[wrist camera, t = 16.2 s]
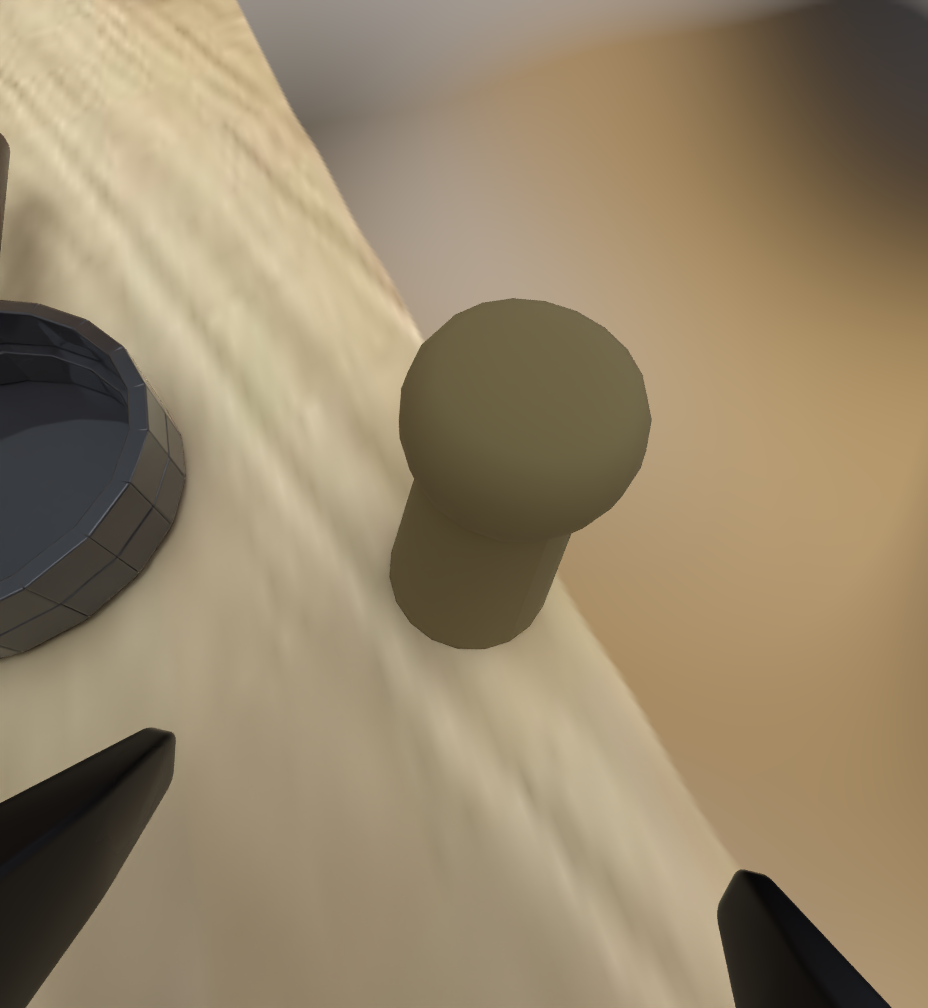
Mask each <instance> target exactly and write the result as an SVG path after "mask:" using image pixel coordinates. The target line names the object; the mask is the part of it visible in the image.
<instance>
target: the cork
mask: <svg viewBox="0 0 928 1008" xmlns="http://www.w3.org/2000/svg"><path fill="white" fill-rule="evenodd" d="M650 426H651V414H650V410H649V404H648V399H647V394H646V390H645V385H644V380H643V375H642V373H641V372H640V370H639V368H638V366H637V365H636V363H635V361H634V360H633V358H632V356H631V355H630V353H629V351H628V350H627V349H626V347H624V346H623V345H622V344H621V343H620V342H619V341H618V340H617V339H616V338H615V337H614V336H613V335H612V334H611V333H610V332H609V331H608V330H607V329H606V328H605V327H603V326H601V325H599V324H598V323H596V322H594V321H593V320H591V319H589V318H587V317H586V316H584V315H582V314H581V313H579V312H577V311H574V310H571V309H568V308H565V307H562V306H559V305H555V304H552V303H549V302H546V301H537V300H526V299H514V298H512V299H506V300H500V301H492V302H485V303H481V304H479V305H476V306H474V307H472V308H470V309H467V310H465V311H463V312H460V313H458V314H456V315H455V316H453V317H452V318H451V319H450V320H449V321H448V322H447V323H445V324H444V325H443V326H442V327H441V328H440V329H439V330H438V331H437V332H435V333H434V334H433V335H432V336H431V337H430V338H429V339H428V340H427V341H425V342H424V343H423V344H422V345H421V347H420V349H419V351H418V353H417V355H416V357H415V359H414V361H413V363H412V365H411V367H410V369H409V371H408V373H407V375H406V378H405V381H404V383H403V386H402V388H401V400H400V414H399V434H400V441H401V444H402V447H403V450H404V453H405V456H406V460H407V463H408V466H409V469H410V471H411V473H412V475H413V477H414V481H413V484H412V488H411V491H410V494H409V497H408V500H407V504H406V507H405V510H404V513H403V517H402V520H401V523H400V526H399V530H398V533H397V536H396V539H395V543H394V546H393V549H392V552H391V565H390V580H391V584H392V587H393V591H394V595H395V599H396V602H397V603H398V605H399V606H400V608H401V609H402V611H403V612H404V614H405V615H406V617H407V618H408V620H409V621H410V623H412V624H413V625H414V626H415V627H417V628H418V629H419V630H421V631H422V632H423V633H424V634H426V635H427V636H428V637H430V638H431V639H432V640H435V641H438V642H441V643H444V644H447V645H449V646H452V647H455V648H462V649H486V648H489V647H492V646H495V645H499V644H502V643H505V642H508V641H510V640H511V639H513V638H514V637H515V636H517V635H518V634H519V633H521V632H522V631H523V630H525V629H526V628H527V627H529V626H530V625H531V623H532V622H533V620H534V619H535V617H536V616H537V614H538V613H539V611H540V610H541V608H542V607H543V605H544V602H545V600H546V597H547V594H548V592H549V589H550V587H551V584H552V582H553V579H554V577H555V574H556V571H557V569H558V566H559V564H560V561H561V559H562V556H563V553H564V551H565V548H566V546H567V543H568V541H569V538H570V535H571V533H573V532H575V531H578V530H580V529H582V528H584V527H585V526H587V525H588V524H590V523H591V522H592V521H594V520H595V519H597V518H598V517H599V516H601V515H603V514H604V513H605V512H607V511H608V510H610V509H611V508H612V507H613V506H614V505H615V503H616V502H617V501H618V500H619V499H620V498H621V497H622V495H623V494H624V492H625V491H626V489H627V488H628V486H629V485H630V483H631V482H632V480H633V479H634V477H635V476H636V474H637V473H638V471H639V469H640V468H641V465H642V462H643V459H644V455H645V452H646V448H647V443H648V437H649V432H650Z"/></svg>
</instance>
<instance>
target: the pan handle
mask: <svg viewBox="0 0 928 1008" xmlns="http://www.w3.org/2000/svg"><path fill="white" fill-rule="evenodd" d="M9 159H10V148H9V145H8V143H7V141H6V139H5V138H4V136H3V135H2V134H1V133H0V250H1V240H2V230H3V220H4V210H5V200H6V190H7V179H8V169H9Z"/></svg>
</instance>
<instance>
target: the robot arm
mask: <svg viewBox="0 0 928 1008" xmlns="http://www.w3.org/2000/svg"><path fill="white" fill-rule="evenodd" d="M175 744H176V738H175V735H174V734H173V733H172V732H169V731H165V730H161V729H157V728H146V729H143V730H141V731H139V732H137V733H135V734H133V735H131V736H129V737H127V738H125V739H123V740H121V741H119V742H118V743H116V744H114V745H112V746H110V747H108V748H106V749H104V750H102V751H100V752H98V753H96V754H94V755H92V756H90V757H89V758H87V759H85V760H83V761H81V762H79V763H77V764H75V765H73V766H71V767H69V768H67V769H65V770H63V771H61V772H60V773H58V774H56V775H54V776H52V777H50V778H48V779H46V780H44V781H42V782H40V783H38V784H36V785H34V786H32V787H31V788H29V789H27V790H25V791H23V792H21V793H19V794H17V795H15V796H13V797H11V798H9V799H7V800H5V801H3V802H2V803H0V1008H26V1006H27V1005H28V1004H29V1002H30V1001H31V999H32V998H33V997H34V995H35V994H36V992H37V991H38V989H39V988H40V987H41V985H42V984H43V982H44V981H45V980H46V978H47V977H48V975H49V974H50V973H51V971H52V970H53V968H54V967H55V966H56V964H57V963H58V961H59V960H60V959H61V957H62V956H63V954H64V953H65V951H66V950H67V949H68V947H69V946H70V944H71V943H72V942H73V940H74V939H75V937H76V936H77V935H78V933H79V932H80V930H81V929H82V928H83V926H84V925H85V923H86V922H87V921H88V919H89V918H90V916H91V915H92V913H93V912H94V910H95V909H96V907H97V906H98V904H99V903H100V902H101V900H102V899H103V897H104V895H105V894H106V892H107V891H108V889H109V887H110V886H111V884H112V882H113V881H114V879H115V878H116V876H117V874H118V872H119V871H120V869H121V867H122V866H123V864H124V862H125V861H126V859H127V857H128V856H129V854H130V852H131V850H132V849H133V847H134V845H135V844H136V842H137V840H138V839H139V837H140V835H141V834H142V832H143V830H144V828H145V827H146V825H147V823H148V822H149V820H150V818H151V817H152V815H153V813H154V812H155V810H156V808H157V806H158V805H159V803H160V801H161V800H162V798H163V796H164V795H165V793H166V791H167V789H168V787H169V785H170V783H171V780H172V777H173V772H174V759H175ZM717 919H718V926H719V931H720V935H721V940H722V945H723V950H724V954H725V959H726V964H727V969H728V973H729V978H730V983H731V988H732V992H733V997H734V1002H735V1007H736V1008H891V1007H890V1005H889V1004H888V1003H887V1002H886V1001H885V1000H884V999H883V998H882V997H881V996H880V995H879V994H878V993H877V992H876V991H875V989H873V987H872V986H871V985H870V984H869V983H868V982H867V981H866V980H865V979H864V978H863V977H862V976H861V975H860V973H859V972H858V971H857V970H856V969H855V968H854V967H853V966H852V965H851V964H850V963H849V962H848V961H847V960H846V959H845V957H844V956H842V954H841V953H840V952H839V951H838V950H837V949H836V948H835V947H834V946H833V945H832V944H831V943H830V941H828V939H827V938H826V937H825V936H824V935H823V934H822V933H821V932H820V931H819V930H818V929H817V928H816V927H815V926H814V924H813V923H812V922H811V921H810V920H809V919H808V918H807V917H806V916H805V915H804V914H803V913H802V912H801V911H800V909H799V908H798V907H797V906H796V905H795V904H794V903H793V902H792V901H791V900H790V899H789V898H788V897H787V896H786V895H785V894H784V892H783V891H782V890H781V889H780V888H779V887H778V886H777V885H776V884H775V883H774V882H773V881H772V880H771V879H770V878H769V877H767V876H765V875H763V874H760V873H755V872H752V871H748V870H739V871H737V872H736V873H735V874H734V876H733V878H732V880H731V881H730V883H729V885H728V887H727V889H726V891H725V893H724V895H723V896H722V898H721V900H720V902H719V905H718V910H717Z"/></svg>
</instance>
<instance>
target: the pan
mask: <svg viewBox="0 0 928 1008" xmlns="http://www.w3.org/2000/svg"><path fill="white" fill-rule="evenodd" d="M185 476H186V475H185V465H184V455H183V445H182V438H181V434H180V432H179V431H178V429H177V427H176V425H175V424H174V422H173V420H172V419H171V417H170V415H169V413H168V412H167V410H166V408H165V406H164V405H163V403H162V402H161V400H160V399H159V397H158V396H157V394H156V393H155V391H154V390H153V388H152V387H151V385H150V384H149V382H148V381H147V380H146V378H145V376H144V375H143V374H142V372H141V371H140V369H139V368H138V366H137V365H136V363H135V362H134V360H133V359H132V357H131V356H130V354H129V353H128V351H127V350H126V349H125V348H124V347H123V346H122V345H121V344H119V343H118V342H117V341H115V340H114V339H113V338H111V337H110V336H109V335H107V334H106V333H105V332H103V331H102V330H101V329H99V328H98V327H97V326H95V325H94V324H93V323H91V322H90V321H87V320H86V319H84V318H81V317H78V316H75V315H72V314H69V313H66V312H63V311H60V310H57V309H54V308H51V307H48V306H45V305H42V304H37V303H28V302H16V301H4V300H0V658H3V657H7V656H11V655H15V654H18V653H21V652H25V651H28V650H29V649H31V648H33V647H35V646H37V645H39V644H41V643H43V642H45V641H46V640H48V639H50V638H52V637H54V636H56V635H58V634H60V633H62V632H63V631H65V630H67V629H69V628H71V627H73V626H75V625H77V624H79V623H81V622H82V621H84V620H86V619H88V618H89V617H88V616H91V615H92V614H94V613H95V612H96V611H97V610H98V609H99V608H100V607H102V606H103V605H104V604H105V603H106V602H107V601H108V600H110V599H111V598H112V597H113V596H114V595H115V594H116V593H118V592H119V591H120V590H121V589H122V588H123V587H124V586H126V585H127V584H128V583H129V582H130V581H131V580H132V579H134V578H135V577H136V576H137V575H138V572H140V571H142V569H143V568H144V566H145V565H146V563H147V562H148V560H149V559H150V557H151V556H152V554H153V553H154V551H155V550H156V548H157V547H158V545H159V544H160V542H161V541H162V540H163V538H164V537H165V535H166V534H167V532H168V531H169V529H170V528H171V524H172V523H173V521H174V517H175V514H176V511H177V507H178V504H179V500H180V497H181V493H182V490H183V486H184V483H185Z"/></svg>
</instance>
